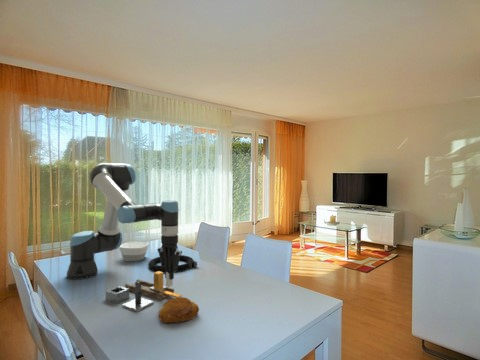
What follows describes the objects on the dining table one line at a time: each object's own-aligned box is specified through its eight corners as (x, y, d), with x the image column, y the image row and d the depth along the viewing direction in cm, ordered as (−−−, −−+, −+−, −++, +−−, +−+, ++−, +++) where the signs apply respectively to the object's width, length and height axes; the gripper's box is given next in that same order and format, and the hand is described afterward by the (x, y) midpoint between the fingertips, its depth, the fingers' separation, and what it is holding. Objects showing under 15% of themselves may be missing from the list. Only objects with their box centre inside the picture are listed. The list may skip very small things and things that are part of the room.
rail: (125, 289, 143) (125, 284, 143) (138, 284, 150) (138, 279, 150) (161, 300, 131) (161, 294, 131) (173, 293, 138) (174, 288, 138)
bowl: (143, 263, 185) (143, 248, 185) (115, 262, 185) (115, 247, 185) (151, 255, 203) (151, 241, 203) (126, 254, 203) (126, 241, 203)
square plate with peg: (122, 306, 124) (122, 283, 124) (138, 299, 132) (139, 277, 132) (137, 312, 120) (137, 287, 120) (153, 303, 128) (153, 280, 127)
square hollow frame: (105, 299, 131) (105, 291, 131) (119, 294, 137) (119, 285, 137) (116, 303, 127) (116, 294, 127) (129, 297, 134) (129, 288, 133)
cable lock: (161, 252, 197) (203, 255, 191) (161, 258, 197) (203, 261, 191) (139, 265, 170) (187, 269, 164) (139, 271, 170) (187, 275, 164)
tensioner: (149, 292, 137) (149, 272, 137) (157, 288, 141) (157, 269, 141) (176, 299, 129) (176, 279, 129) (183, 295, 134) (183, 275, 133)
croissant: (199, 327, 113) (202, 307, 112) (157, 327, 108) (160, 306, 108) (194, 309, 126) (197, 291, 126) (157, 309, 122) (160, 290, 122)
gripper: (153, 234, 134) (152, 285, 134) (175, 237, 127) (174, 291, 128) (164, 231, 140) (164, 280, 141) (186, 234, 134) (185, 285, 134)
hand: (169, 285), depth 134 cm, fingers closed
